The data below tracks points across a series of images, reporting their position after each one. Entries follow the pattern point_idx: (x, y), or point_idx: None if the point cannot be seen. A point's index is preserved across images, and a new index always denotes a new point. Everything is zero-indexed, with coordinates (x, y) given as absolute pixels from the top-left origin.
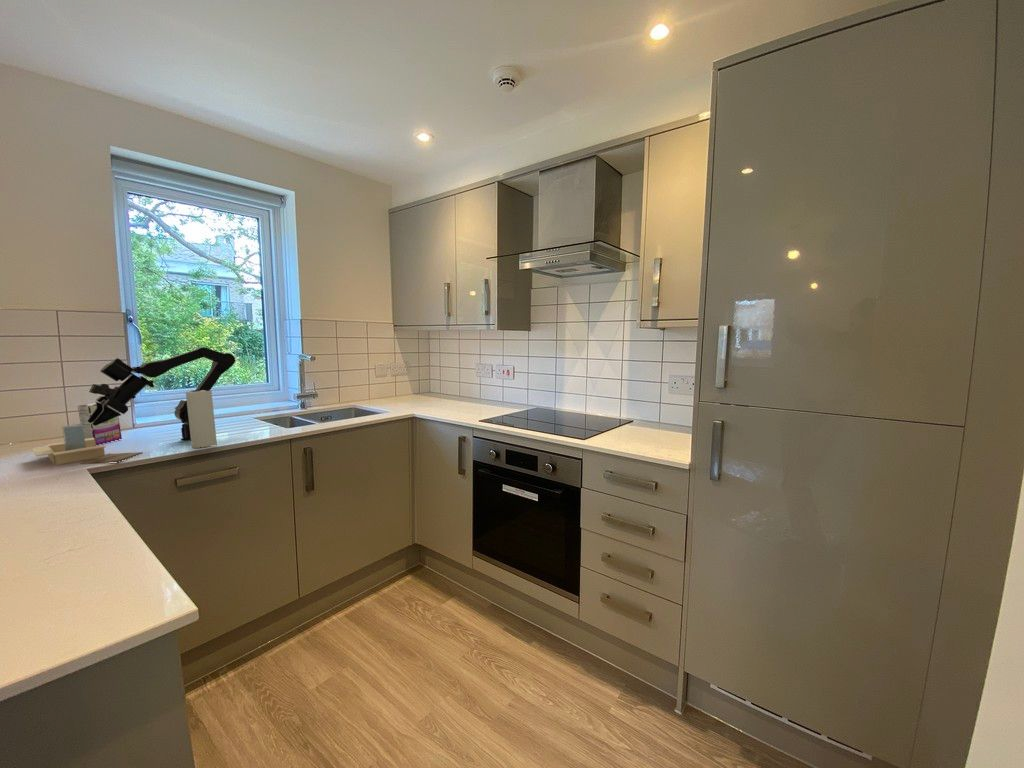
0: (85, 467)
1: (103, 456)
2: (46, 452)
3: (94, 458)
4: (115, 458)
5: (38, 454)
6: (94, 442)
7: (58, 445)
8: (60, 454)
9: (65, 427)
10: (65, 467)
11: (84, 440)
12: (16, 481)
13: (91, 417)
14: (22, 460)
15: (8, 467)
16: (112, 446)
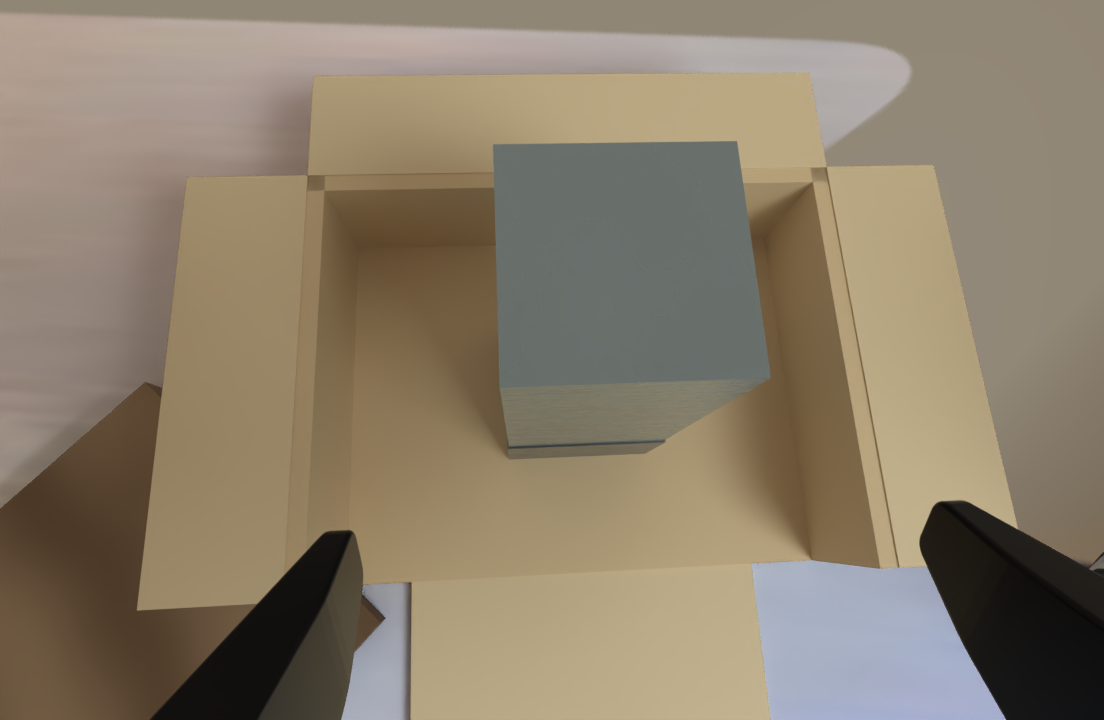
0: (19, 406)
1: None
2: (405, 141)
3: None
4: (13, 650)
5: (355, 89)
6: (854, 556)
7: (819, 251)
8: (184, 222)
9: (517, 164)
10: None
11: (506, 431)
12: (30, 45)
13: (1020, 585)
14: (860, 104)
15: (642, 34)
16: (958, 717)
